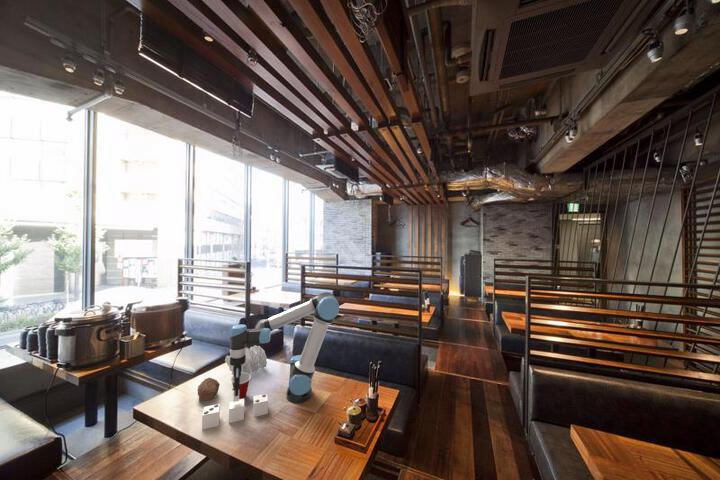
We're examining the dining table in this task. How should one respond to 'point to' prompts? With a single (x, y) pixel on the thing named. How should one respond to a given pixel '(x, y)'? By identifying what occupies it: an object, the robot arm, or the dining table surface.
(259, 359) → the white ruffled irregular piece
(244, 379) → the plastic cup
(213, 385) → the coconut
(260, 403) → the block two pips
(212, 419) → the block three pips
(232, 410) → the blank block
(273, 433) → the dining table surface
